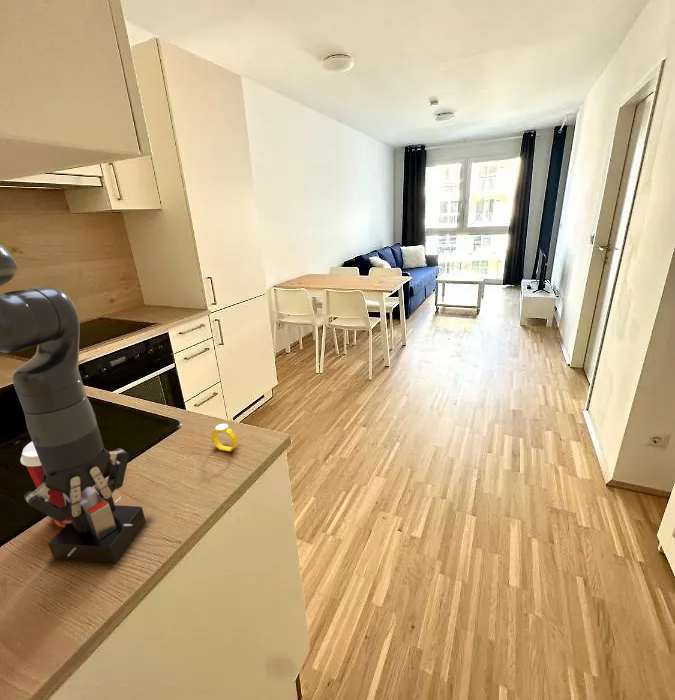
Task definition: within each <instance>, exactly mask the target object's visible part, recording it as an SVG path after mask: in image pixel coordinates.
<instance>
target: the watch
mask: <svg viewBox="0 0 675 700" xmlns="http://www.w3.org/2000/svg"><path fill="white" fill-rule="evenodd" d="M217 433H219V434H221V433H225V434H226V435H227V436H228V437H229V438H230V440H231V442H232V445H231V446H228V445H223V444H222V443H221V442H220V440H219V438H218V435H217ZM210 436H211V441H212V443H213V445H214V446H215V448H217V449H218V450H219V451H225V452H232V451H233V450H234V449H235V448H236V447H237V445H238V439H237V436H236V434H235V432H234V431H233V430H232V429H231V428H230V427H229V424H228V423H220V424H218V425H216V426H215V428H214V429H213V430H212V432H211V434H210Z"/></svg>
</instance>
